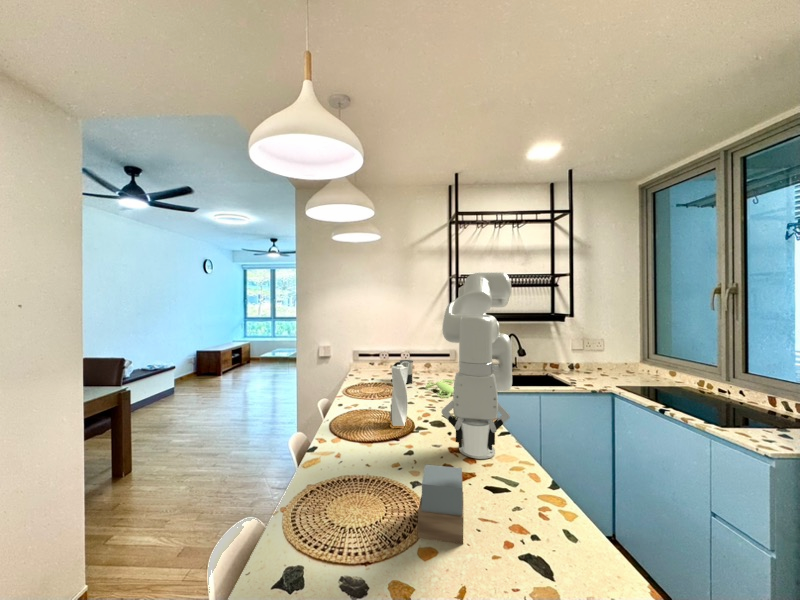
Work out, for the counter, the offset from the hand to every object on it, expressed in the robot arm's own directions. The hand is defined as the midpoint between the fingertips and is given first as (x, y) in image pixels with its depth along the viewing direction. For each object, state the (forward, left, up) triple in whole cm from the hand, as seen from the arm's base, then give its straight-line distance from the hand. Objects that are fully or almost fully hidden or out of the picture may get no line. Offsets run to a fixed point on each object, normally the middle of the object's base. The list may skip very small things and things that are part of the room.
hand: (474, 445), depth 75 cm
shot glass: (0, 0, -1) cm, 1 cm away
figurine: (-122, -14, -20) cm, 124 cm away
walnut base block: (0, -8, -20) cm, 21 cm away
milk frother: (-134, -43, -20) cm, 142 cm away
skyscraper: (-60, -30, -20) cm, 70 cm away
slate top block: (0, -7, -14) cm, 15 cm away
